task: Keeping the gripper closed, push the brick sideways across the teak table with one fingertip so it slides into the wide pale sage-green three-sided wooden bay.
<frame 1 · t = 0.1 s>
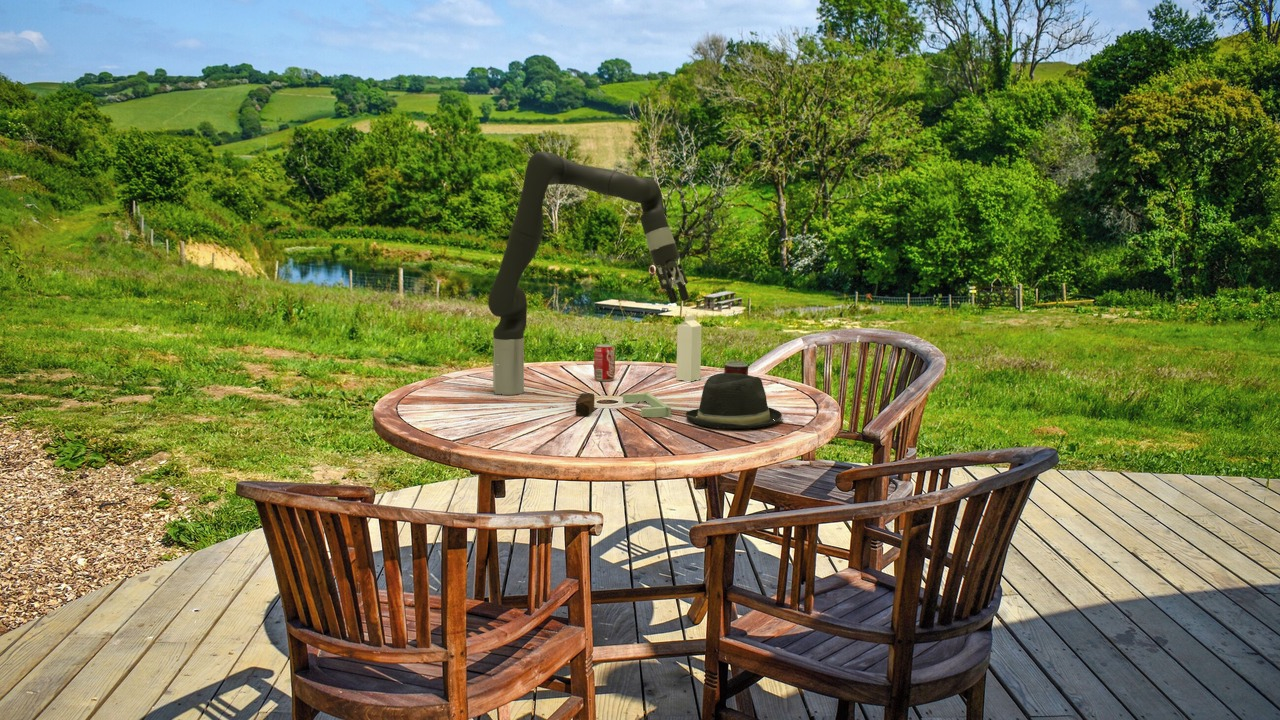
hand: (680, 301, 240), 31 cm above the table, tool tilted 20°, fingers open, 8 cm apart
brick: (585, 413, 242), on the table
soda can 2: (604, 380, 290), on the table
milk: (688, 380, 292), on the table
soda can: (735, 403, 258), on the table
fedora: (733, 421, 236), on the table
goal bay: (635, 409, 246), on the table
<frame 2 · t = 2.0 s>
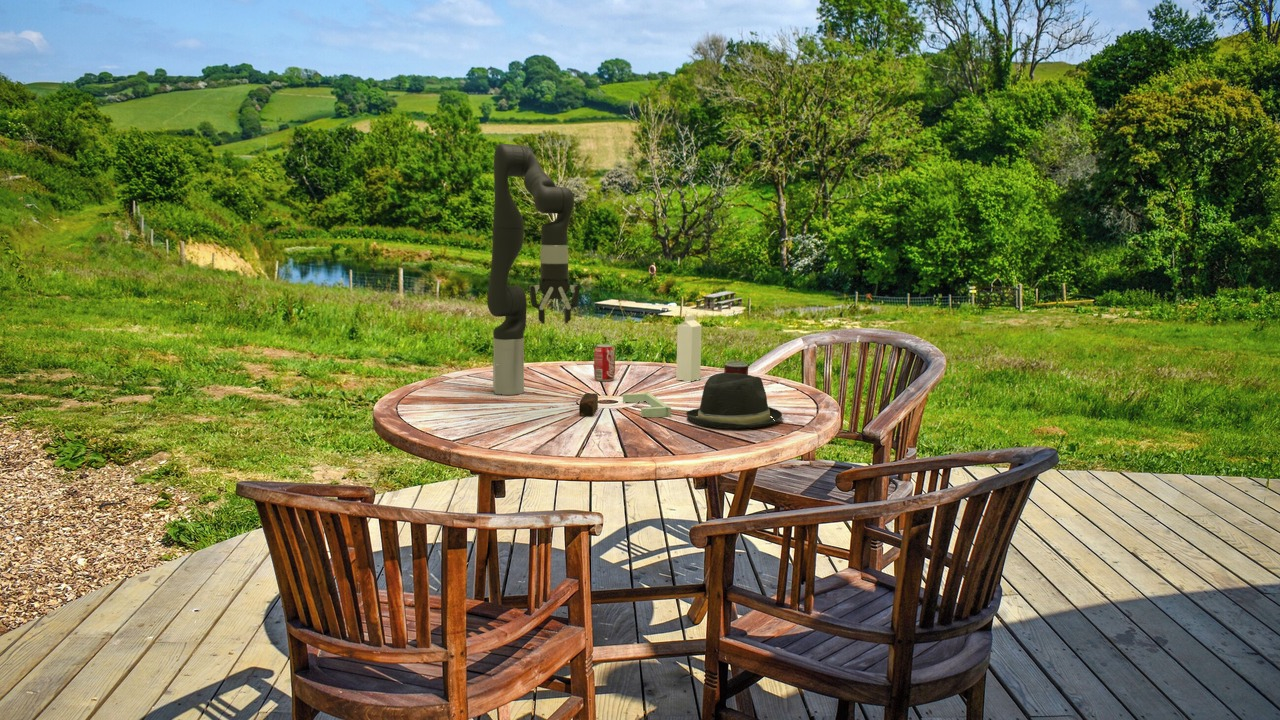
hand: (554, 322, 236), 26 cm above the table, tool pointing down, fingers open, 6 cm apart
brick: (588, 413, 242), on the table
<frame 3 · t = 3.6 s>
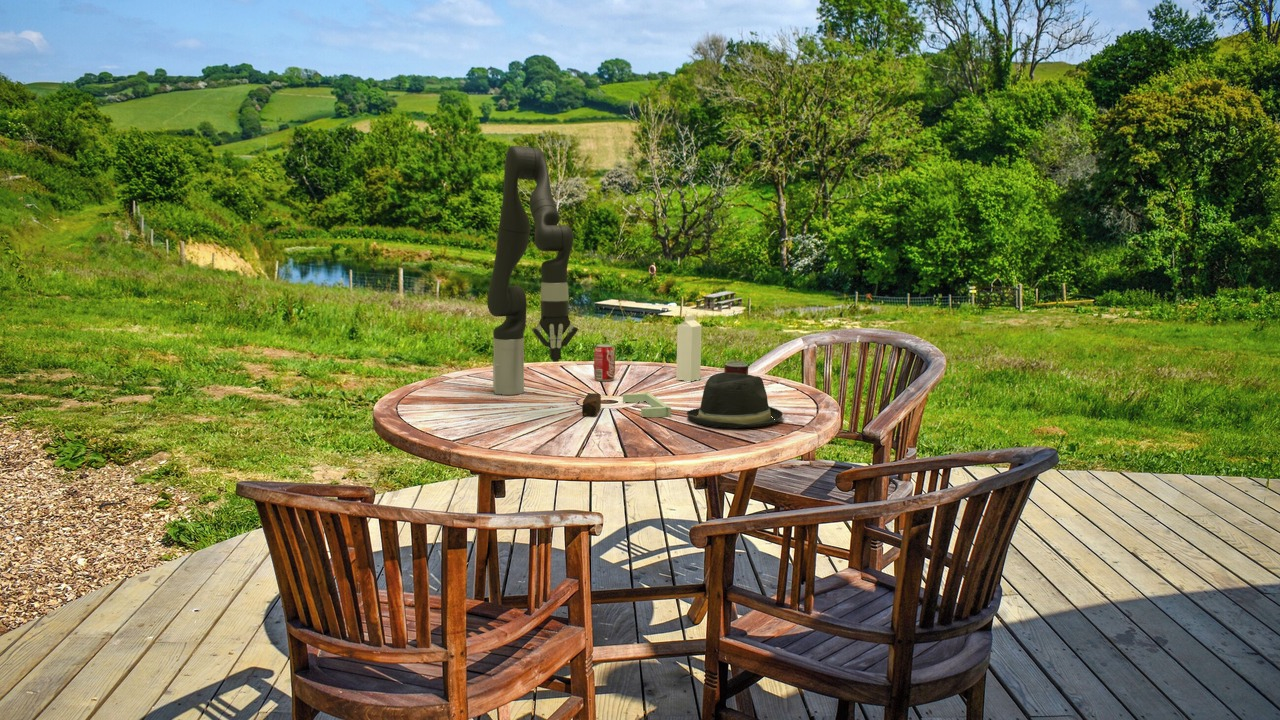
hand: (555, 361, 237), 15 cm above the table, tool pointing down, fingers closed
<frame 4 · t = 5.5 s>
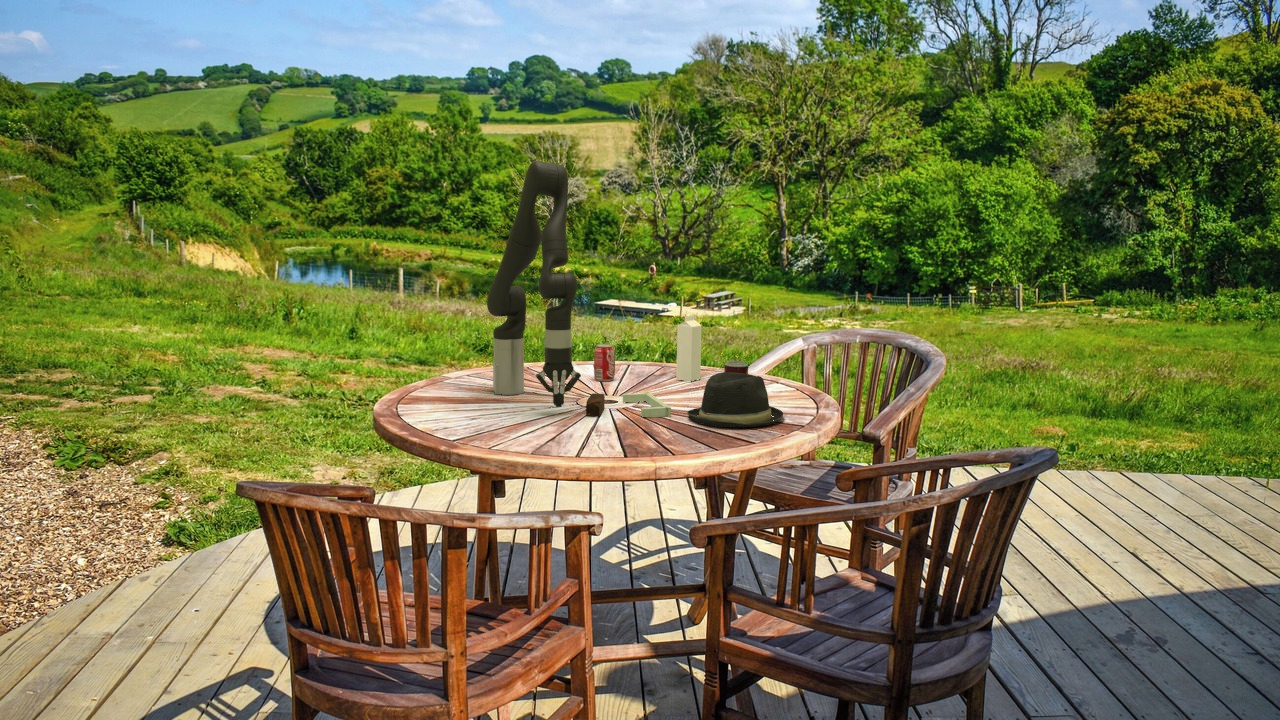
hand: (558, 406, 240), 2 cm above the table, tool pointing down, fingers closed
brick: (595, 413, 242), on the table
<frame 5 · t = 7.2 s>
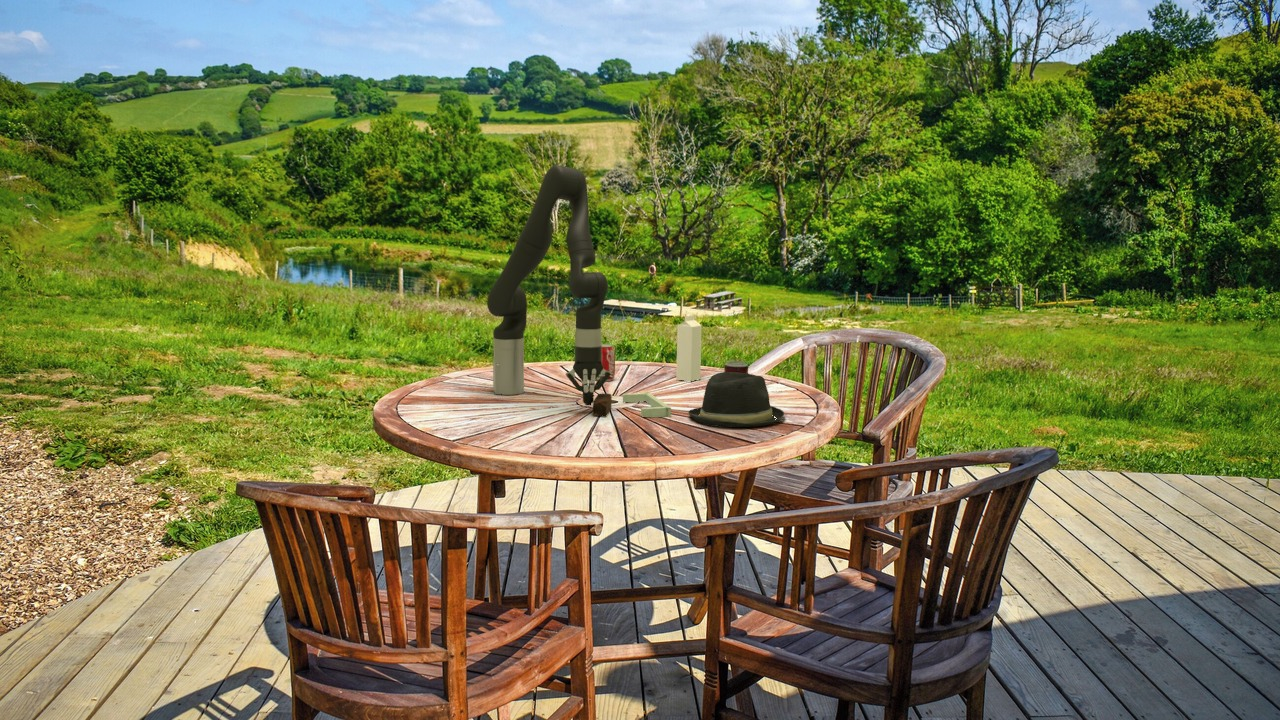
hand: (587, 404, 242), 2 cm above the table, tool pointing down, fingers closed
brick: (602, 413, 242), on the table, touching gripper
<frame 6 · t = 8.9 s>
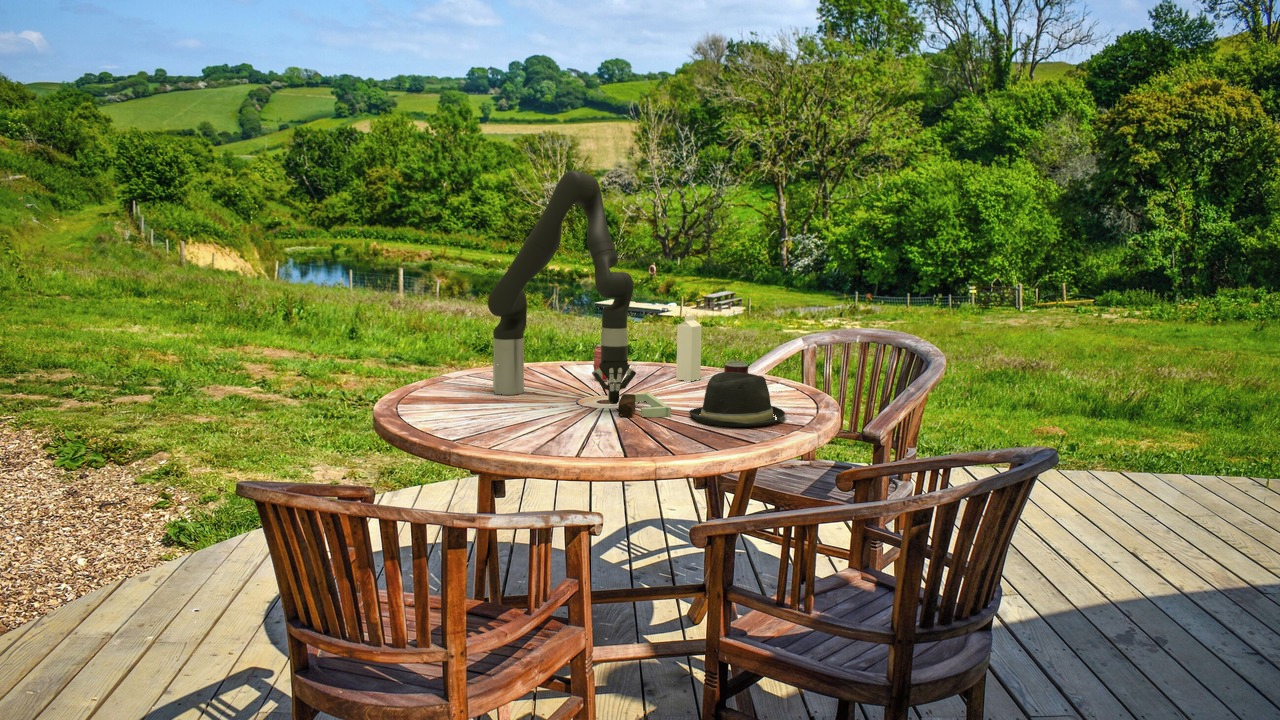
hand: (613, 403, 244), 2 cm above the table, tool pointing down, fingers closed
brick: (626, 414, 242), on the table, touching gripper
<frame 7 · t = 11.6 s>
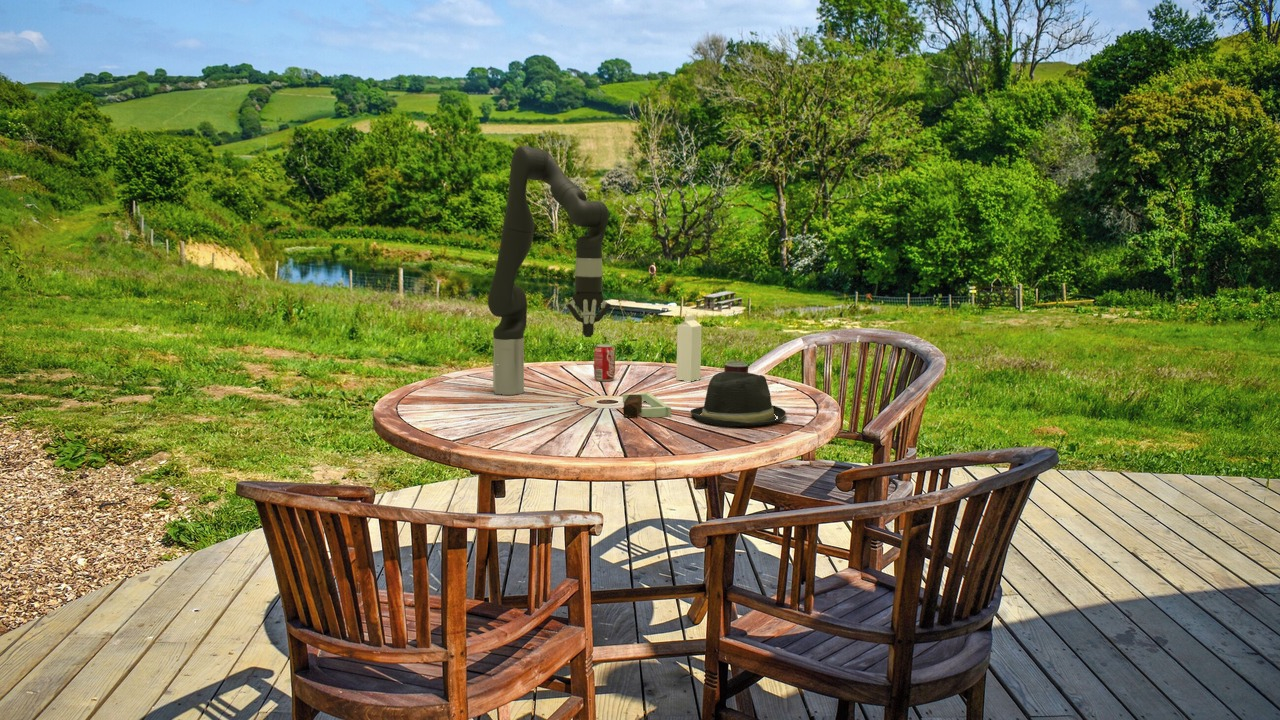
hand: (587, 336, 239), 21 cm above the table, tool pointing down, fingers closed
brick: (632, 415, 241), on the table
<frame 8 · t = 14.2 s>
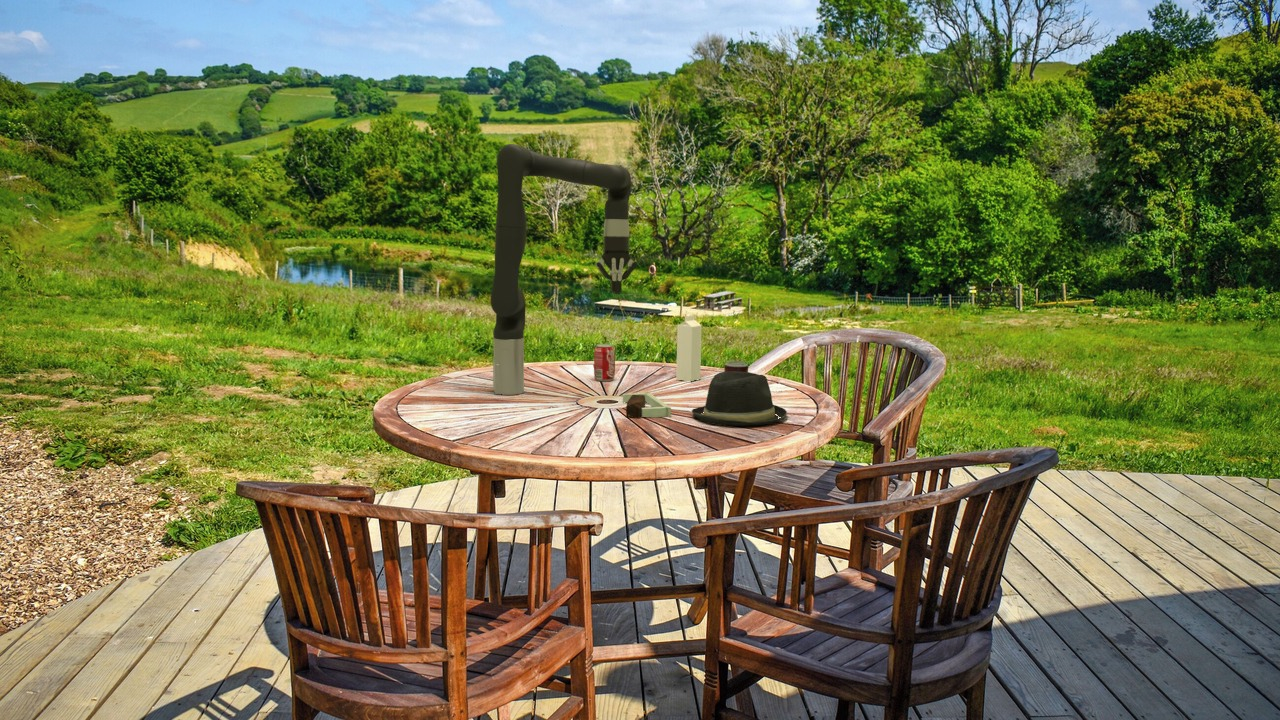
hand: (615, 293, 256), 32 cm above the table, tool pointing down, fingers closed
at the end: brick inside the target area (5.3 cm from its centre), on the table; brick moved 14.6 cm from its start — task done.
